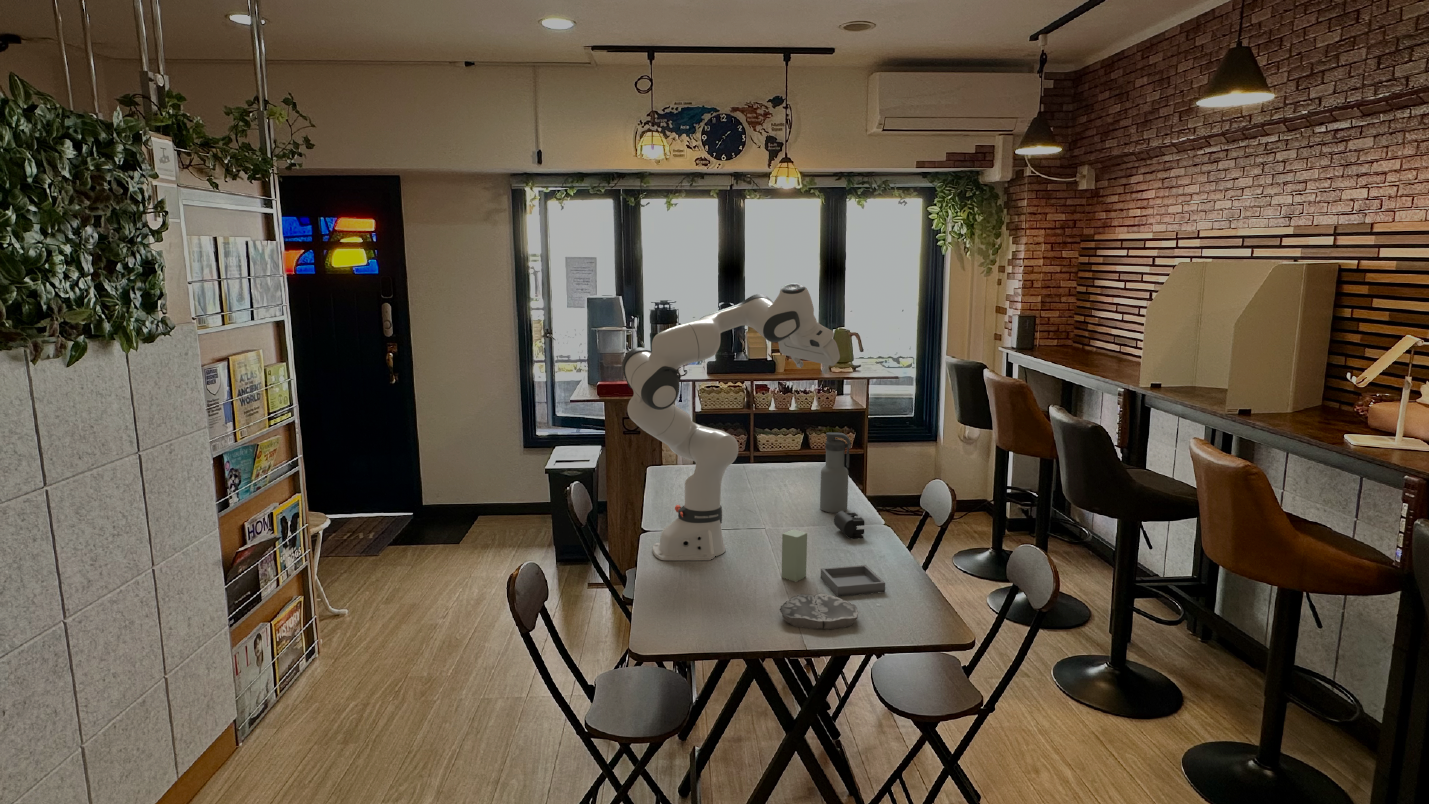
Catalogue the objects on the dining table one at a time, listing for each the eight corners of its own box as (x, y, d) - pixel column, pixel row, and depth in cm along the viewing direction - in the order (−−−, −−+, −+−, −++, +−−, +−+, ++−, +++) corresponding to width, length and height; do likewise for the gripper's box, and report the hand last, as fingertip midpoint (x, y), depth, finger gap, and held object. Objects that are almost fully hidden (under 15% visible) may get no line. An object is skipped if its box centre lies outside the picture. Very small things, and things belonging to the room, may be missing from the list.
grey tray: (837, 596, 226) (837, 586, 226) (820, 577, 239) (820, 568, 239) (884, 592, 229) (885, 582, 229) (865, 574, 242) (865, 564, 242)
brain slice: (849, 604, 222) (849, 593, 222) (862, 632, 206) (863, 620, 205) (775, 604, 222) (775, 593, 221) (782, 633, 205) (782, 621, 204)
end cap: (833, 530, 281) (833, 511, 280) (853, 529, 282) (853, 509, 281) (843, 540, 271) (844, 520, 270) (864, 538, 273) (865, 518, 272)
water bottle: (847, 506, 308) (850, 431, 304) (849, 514, 299) (851, 436, 294) (819, 505, 309) (821, 430, 304) (820, 513, 300) (822, 436, 295)
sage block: (796, 581, 237) (797, 537, 234) (781, 577, 240) (782, 533, 237) (806, 576, 240) (807, 532, 238) (791, 572, 243) (792, 529, 241)
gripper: (770, 332, 255) (779, 368, 263) (826, 344, 242) (835, 382, 250) (781, 321, 258) (791, 357, 266) (838, 332, 245) (846, 369, 253)
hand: (812, 369), depth 258 cm, fingers open, 8 cm apart
